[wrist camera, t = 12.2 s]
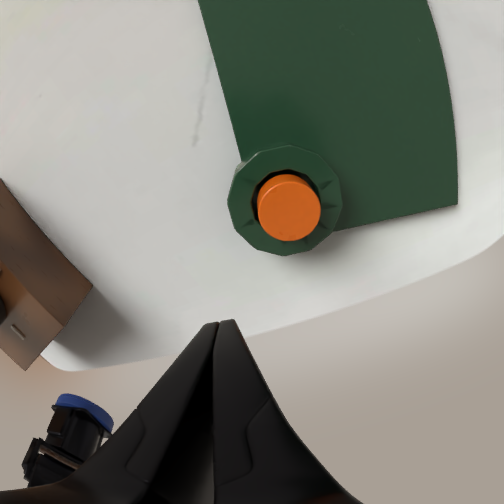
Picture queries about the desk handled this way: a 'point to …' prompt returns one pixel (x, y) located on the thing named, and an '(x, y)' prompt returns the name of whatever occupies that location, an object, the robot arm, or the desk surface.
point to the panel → (33, 285)
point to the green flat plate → (335, 109)
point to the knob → (2, 312)
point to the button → (288, 207)
